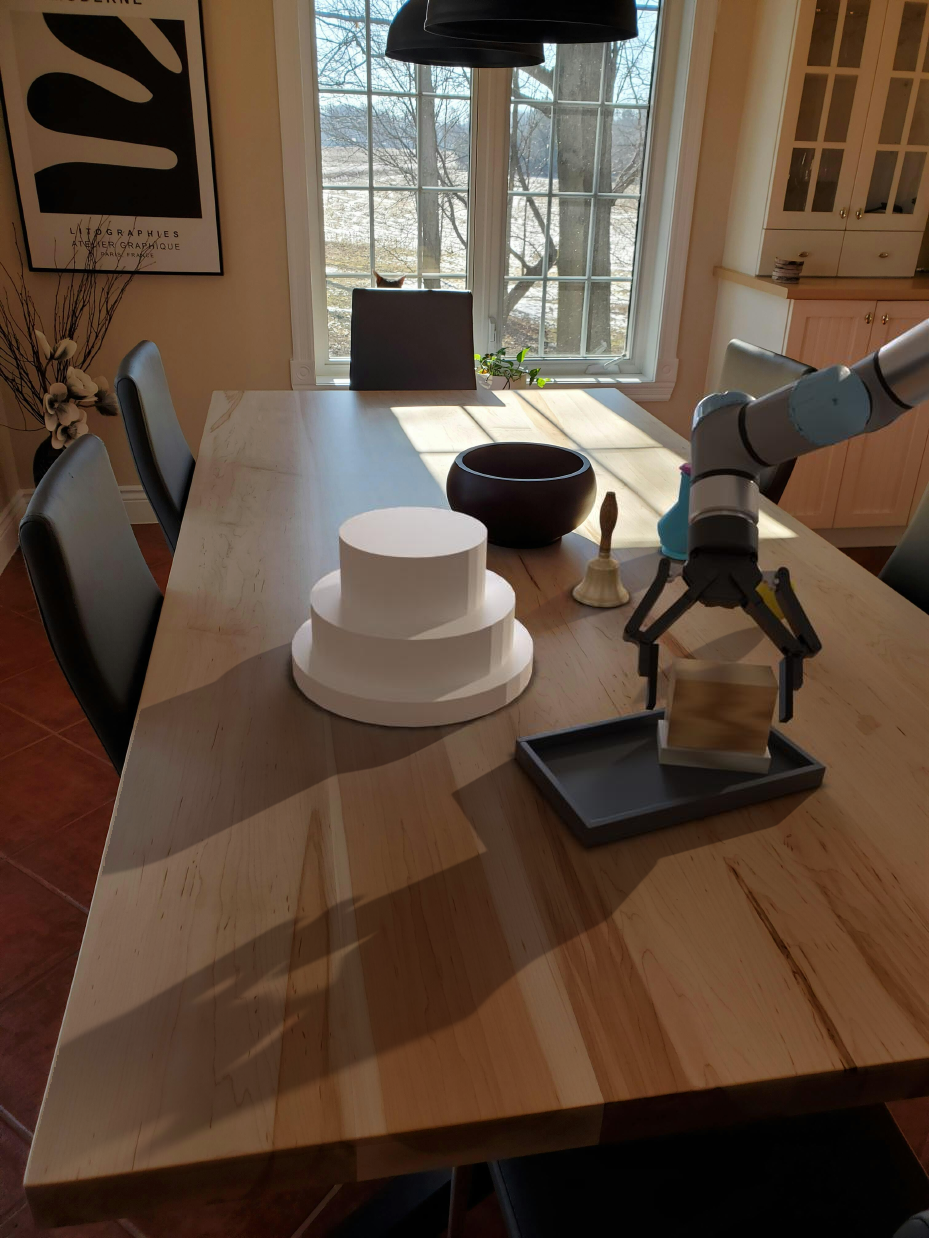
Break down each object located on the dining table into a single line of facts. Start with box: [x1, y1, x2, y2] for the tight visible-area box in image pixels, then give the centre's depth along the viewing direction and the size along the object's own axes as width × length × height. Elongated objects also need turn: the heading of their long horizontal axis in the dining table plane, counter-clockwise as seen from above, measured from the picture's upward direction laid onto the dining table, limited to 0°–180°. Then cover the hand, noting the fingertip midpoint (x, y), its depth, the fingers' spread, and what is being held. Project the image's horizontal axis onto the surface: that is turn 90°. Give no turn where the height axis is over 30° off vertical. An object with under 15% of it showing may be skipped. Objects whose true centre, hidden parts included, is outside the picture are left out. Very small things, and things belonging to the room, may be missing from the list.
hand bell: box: [572, 490, 630, 608], centre depth 130 cm, size 8×8×16 cm
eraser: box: [656, 657, 779, 774], centre depth 93 cm, size 11×6×10 cm, turn 82°
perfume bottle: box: [656, 461, 691, 561], centre depth 147 cm, size 9×9×15 cm
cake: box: [291, 506, 534, 728], centre depth 110 cm, size 30×30×18 cm
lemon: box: [756, 577, 797, 621], centre depth 125 cm, size 6×6×8 cm
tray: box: [514, 706, 827, 849], centre depth 93 cm, size 16×28×2 cm, turn 112°
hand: (717, 713), depth 92 cm, fingers open, 13 cm apart
